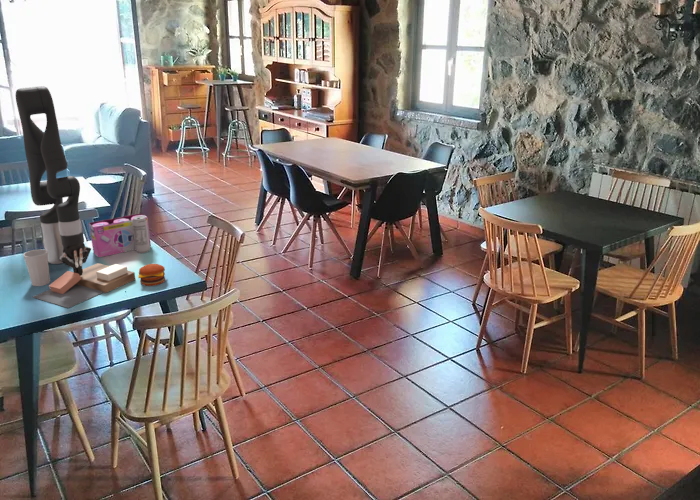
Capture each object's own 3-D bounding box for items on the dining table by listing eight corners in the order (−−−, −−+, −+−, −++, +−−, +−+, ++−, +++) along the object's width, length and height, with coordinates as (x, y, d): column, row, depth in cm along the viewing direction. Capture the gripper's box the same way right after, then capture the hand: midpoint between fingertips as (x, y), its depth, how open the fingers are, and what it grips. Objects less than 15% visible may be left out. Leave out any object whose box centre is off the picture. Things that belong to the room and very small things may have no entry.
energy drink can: (152, 248, 261) (148, 215, 256) (148, 253, 255) (144, 219, 250) (138, 248, 261) (133, 215, 256) (133, 253, 255) (129, 220, 250)
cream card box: (97, 277, 223) (96, 271, 222) (116, 269, 230) (115, 263, 229) (108, 281, 220) (107, 274, 219) (127, 272, 228) (126, 266, 227)
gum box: (148, 241, 270) (144, 212, 266) (154, 246, 264) (150, 216, 260) (92, 252, 257) (88, 222, 252) (98, 258, 251) (93, 227, 246)
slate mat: (32, 297, 214) (32, 296, 214) (68, 282, 226) (68, 281, 226) (68, 308, 205) (68, 307, 205) (103, 292, 218) (103, 291, 218)
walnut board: (68, 282, 226) (67, 275, 225) (99, 270, 238) (97, 263, 237) (105, 293, 217) (104, 285, 216) (135, 279, 229) (134, 272, 228)
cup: (57, 280, 228) (52, 250, 224) (41, 288, 221) (35, 257, 217) (41, 277, 231) (35, 248, 227) (24, 285, 224) (18, 255, 220)
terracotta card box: (51, 291, 218) (48, 285, 217) (70, 276, 224) (67, 270, 223) (62, 294, 216) (59, 288, 214) (81, 279, 222) (78, 273, 220)
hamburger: (139, 287, 222) (137, 271, 220) (141, 278, 231) (139, 262, 228) (165, 285, 224) (163, 268, 222) (166, 275, 233) (164, 259, 231)
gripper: (79, 225, 225) (86, 267, 231) (48, 235, 214) (56, 279, 220) (93, 227, 221) (100, 271, 227) (62, 238, 210) (70, 283, 216)
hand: (78, 275), depth 224 cm, fingers closed
